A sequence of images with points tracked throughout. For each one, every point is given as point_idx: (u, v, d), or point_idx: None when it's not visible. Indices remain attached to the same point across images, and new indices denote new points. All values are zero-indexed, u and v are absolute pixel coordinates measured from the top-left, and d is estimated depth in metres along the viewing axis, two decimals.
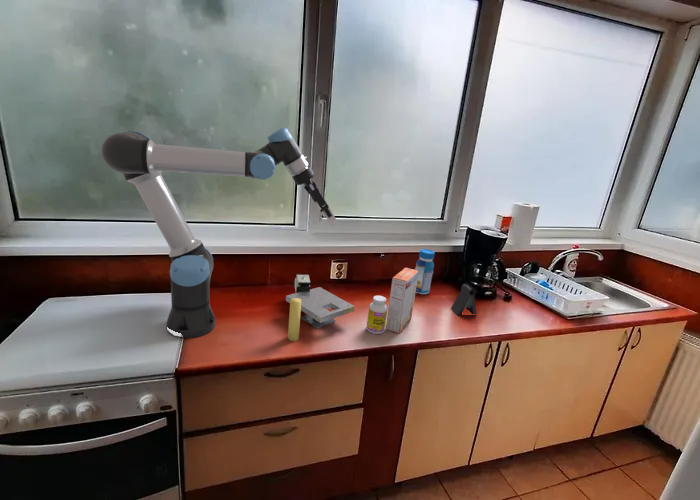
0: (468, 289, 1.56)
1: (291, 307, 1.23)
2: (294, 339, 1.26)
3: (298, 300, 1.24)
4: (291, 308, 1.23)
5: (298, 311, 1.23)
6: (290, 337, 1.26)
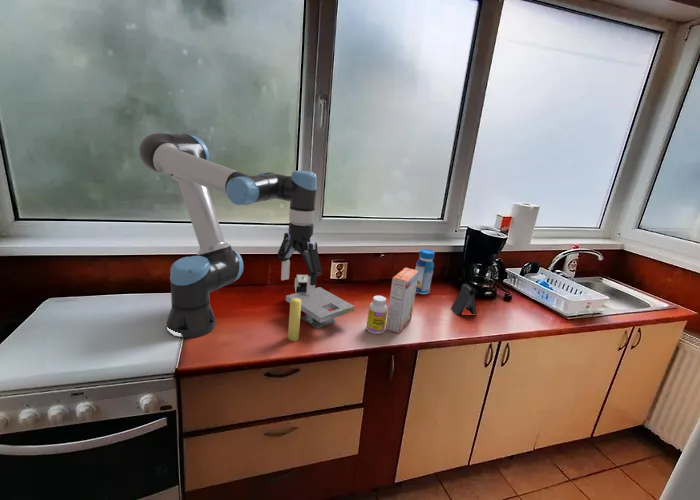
0: (468, 289, 1.56)
1: (291, 307, 1.23)
2: (294, 339, 1.26)
3: (298, 300, 1.24)
4: (291, 308, 1.23)
5: (298, 311, 1.23)
6: (290, 337, 1.26)
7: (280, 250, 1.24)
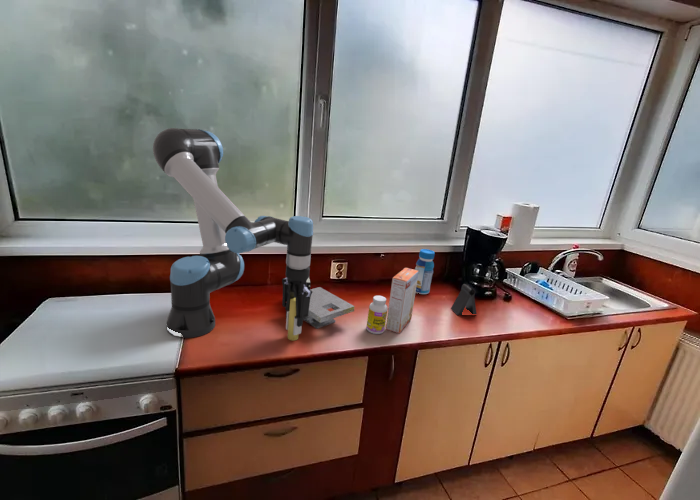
0: (468, 289, 1.56)
1: (291, 307, 1.23)
2: (294, 339, 1.26)
3: None
4: (291, 308, 1.23)
5: None
6: (290, 336, 1.26)
7: (283, 298, 1.26)
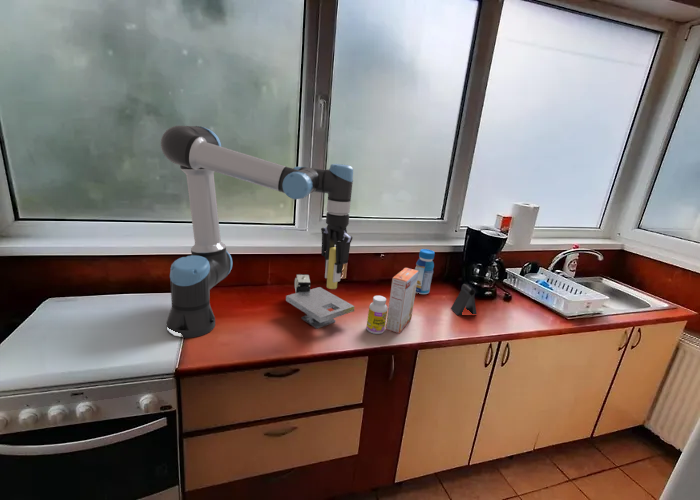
0: (468, 289, 1.56)
1: (331, 255, 1.27)
2: (333, 287, 1.30)
3: None
4: (331, 256, 1.27)
5: None
6: (329, 285, 1.30)
7: (322, 247, 1.30)
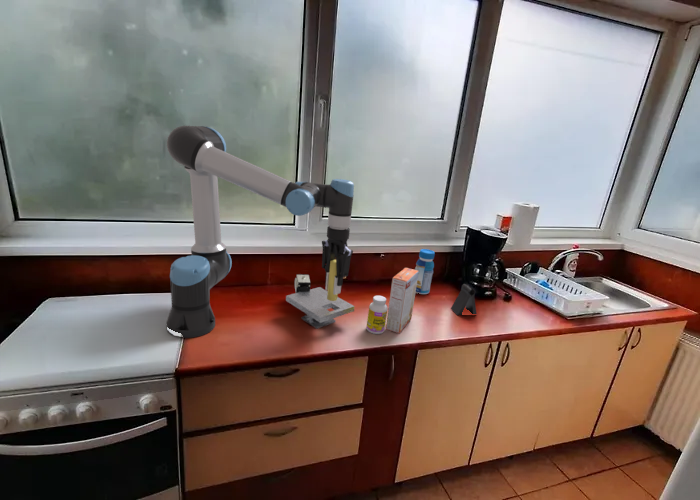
0: (468, 289, 1.56)
1: (331, 268, 1.29)
2: (334, 299, 1.32)
3: None
4: (331, 269, 1.29)
5: None
6: (330, 297, 1.32)
7: (323, 260, 1.32)
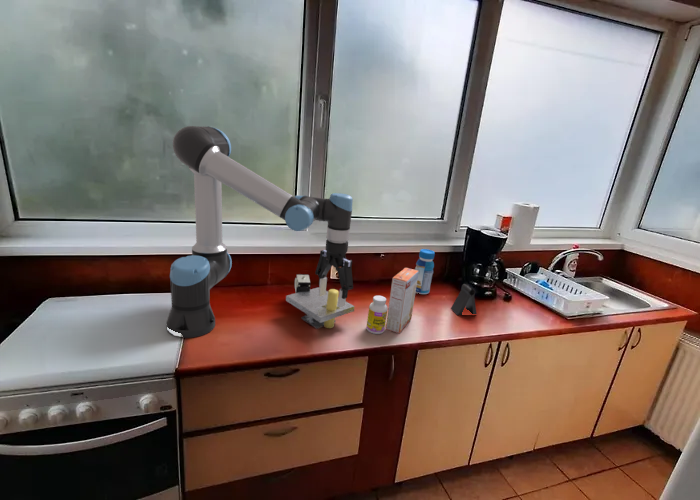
0: (468, 289, 1.56)
1: (329, 298, 1.31)
2: (330, 327, 1.35)
3: (336, 291, 1.32)
4: (329, 299, 1.31)
5: (335, 302, 1.32)
6: (326, 324, 1.35)
7: (318, 267, 1.35)
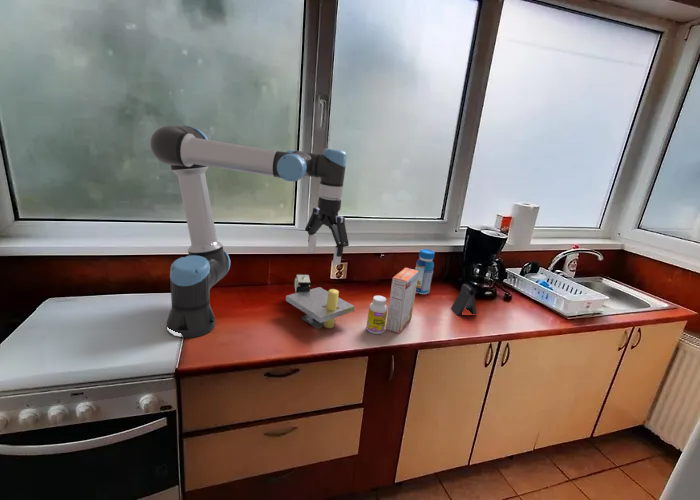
0: (468, 289, 1.56)
1: (329, 298, 1.31)
2: (330, 327, 1.35)
3: (336, 291, 1.32)
4: (329, 299, 1.31)
5: (335, 302, 1.32)
6: (326, 324, 1.35)
7: (308, 224, 1.33)
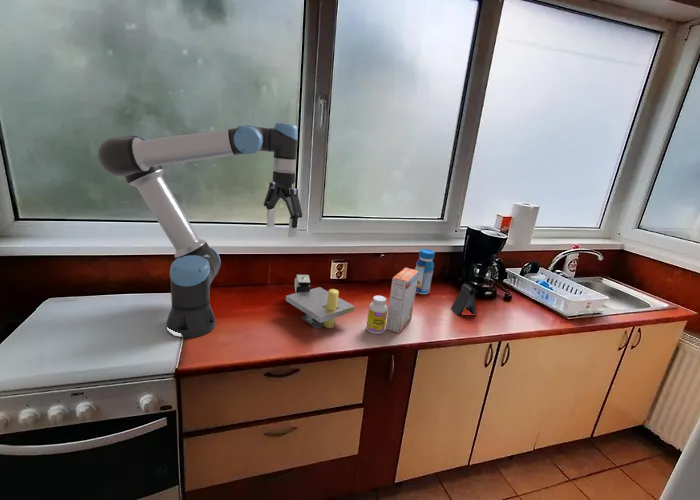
0: (468, 289, 1.56)
1: (329, 298, 1.31)
2: (330, 327, 1.35)
3: (336, 291, 1.32)
4: (329, 299, 1.31)
5: (335, 302, 1.32)
6: (326, 324, 1.35)
7: (266, 199, 1.37)
